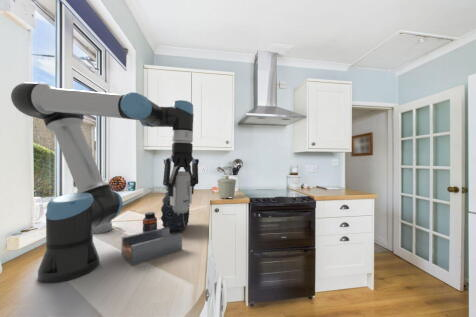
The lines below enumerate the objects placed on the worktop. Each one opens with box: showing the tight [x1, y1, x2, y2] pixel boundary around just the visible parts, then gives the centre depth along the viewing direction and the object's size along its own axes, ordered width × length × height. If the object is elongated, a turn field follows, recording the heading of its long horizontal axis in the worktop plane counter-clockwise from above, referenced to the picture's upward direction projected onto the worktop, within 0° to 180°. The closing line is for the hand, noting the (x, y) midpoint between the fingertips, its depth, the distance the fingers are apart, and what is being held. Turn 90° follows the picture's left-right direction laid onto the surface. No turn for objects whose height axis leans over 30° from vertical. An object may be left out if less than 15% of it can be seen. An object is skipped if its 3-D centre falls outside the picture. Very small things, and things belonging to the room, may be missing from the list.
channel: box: [121, 227, 183, 266], centre depth 81 cm, size 18×12×6 cm, turn 134°
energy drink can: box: [173, 170, 190, 213], centre depth 80 cm, size 6×6×15 cm
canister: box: [216, 175, 237, 199], centre depth 199 cm, size 18×18×21 cm
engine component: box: [93, 220, 113, 234], centre depth 108 cm, size 11×20×10 cm
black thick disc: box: [160, 191, 191, 232], centre depth 107 cm, size 11×20×20 cm, turn 4°
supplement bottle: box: [142, 211, 158, 233], centre depth 95 cm, size 6×6×11 cm
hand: (181, 203), depth 80 cm, fingers closed on energy drink can, 6 cm apart
